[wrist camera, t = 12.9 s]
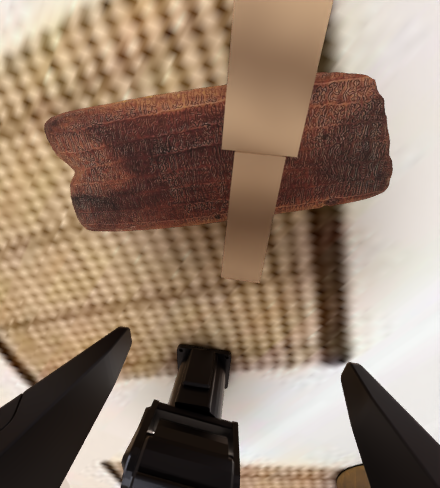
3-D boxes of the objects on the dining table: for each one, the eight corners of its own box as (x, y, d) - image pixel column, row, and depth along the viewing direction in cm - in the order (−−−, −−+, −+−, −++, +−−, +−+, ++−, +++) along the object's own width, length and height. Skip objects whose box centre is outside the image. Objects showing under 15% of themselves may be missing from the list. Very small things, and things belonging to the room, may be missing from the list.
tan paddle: (269, 265, 19) (272, 285, 16) (213, 257, 19) (208, 275, 17) (329, -3, 12) (353, -48, 9) (237, -8, 12) (233, -52, 9)
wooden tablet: (429, 41, 12) (401, 218, 15) (402, 61, 14) (382, 213, 17) (29, 113, 16) (70, 239, 19) (55, 120, 18) (88, 232, 21)
